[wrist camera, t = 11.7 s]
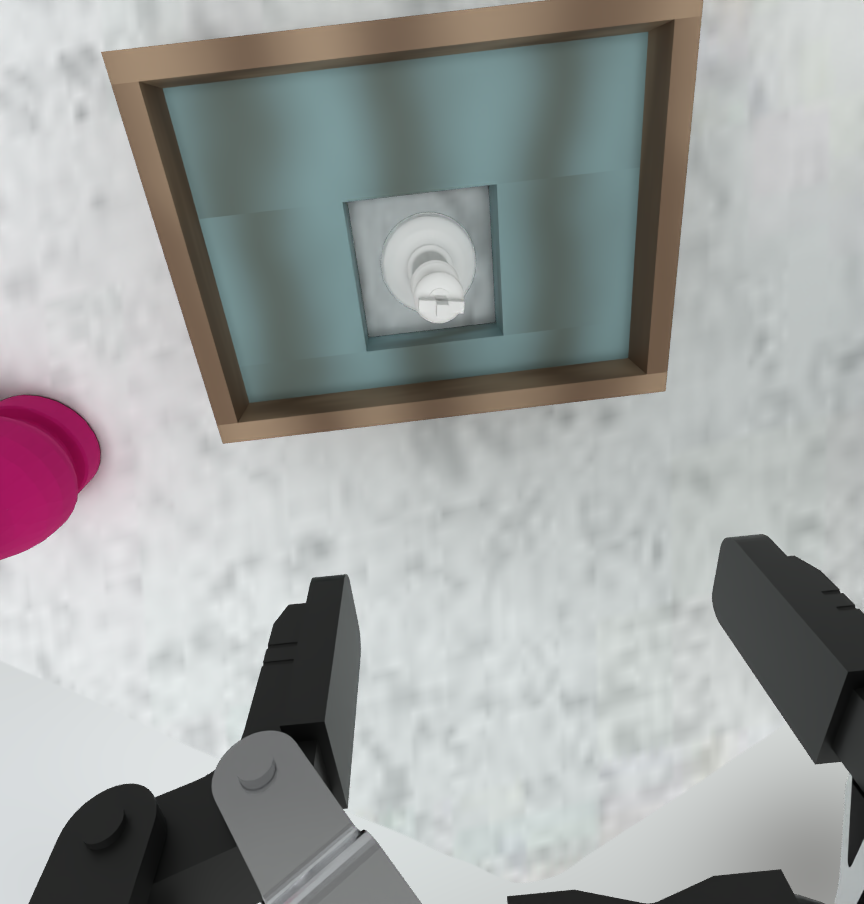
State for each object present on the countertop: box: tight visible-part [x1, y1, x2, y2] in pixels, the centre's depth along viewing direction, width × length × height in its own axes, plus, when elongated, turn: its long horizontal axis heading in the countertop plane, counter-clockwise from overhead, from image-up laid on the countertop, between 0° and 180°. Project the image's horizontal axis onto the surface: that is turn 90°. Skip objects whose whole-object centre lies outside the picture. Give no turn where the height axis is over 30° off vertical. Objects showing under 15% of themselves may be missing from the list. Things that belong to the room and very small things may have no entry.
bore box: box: [101, 0, 703, 444], centre depth 27 cm, size 22×16×5 cm
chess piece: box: [381, 212, 476, 323], centre depth 25 cm, size 5×5×10 cm
